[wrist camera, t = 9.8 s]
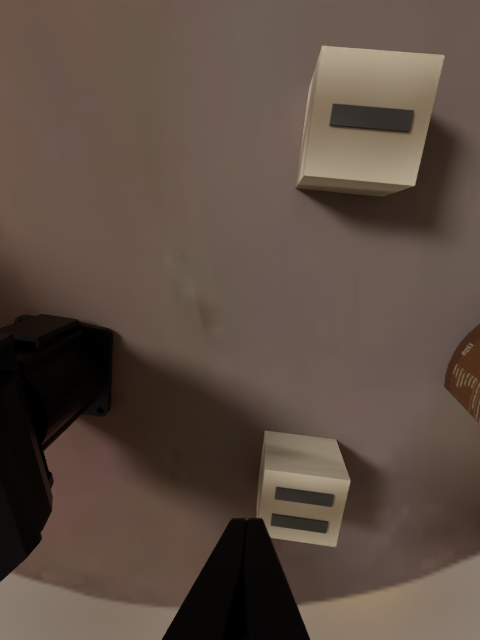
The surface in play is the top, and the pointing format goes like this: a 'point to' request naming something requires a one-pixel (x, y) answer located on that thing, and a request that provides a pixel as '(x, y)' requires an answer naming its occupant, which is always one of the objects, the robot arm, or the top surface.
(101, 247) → the top surface
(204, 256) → the top surface
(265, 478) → the numbered tile two
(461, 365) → the food container
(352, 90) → the numbered tile one
